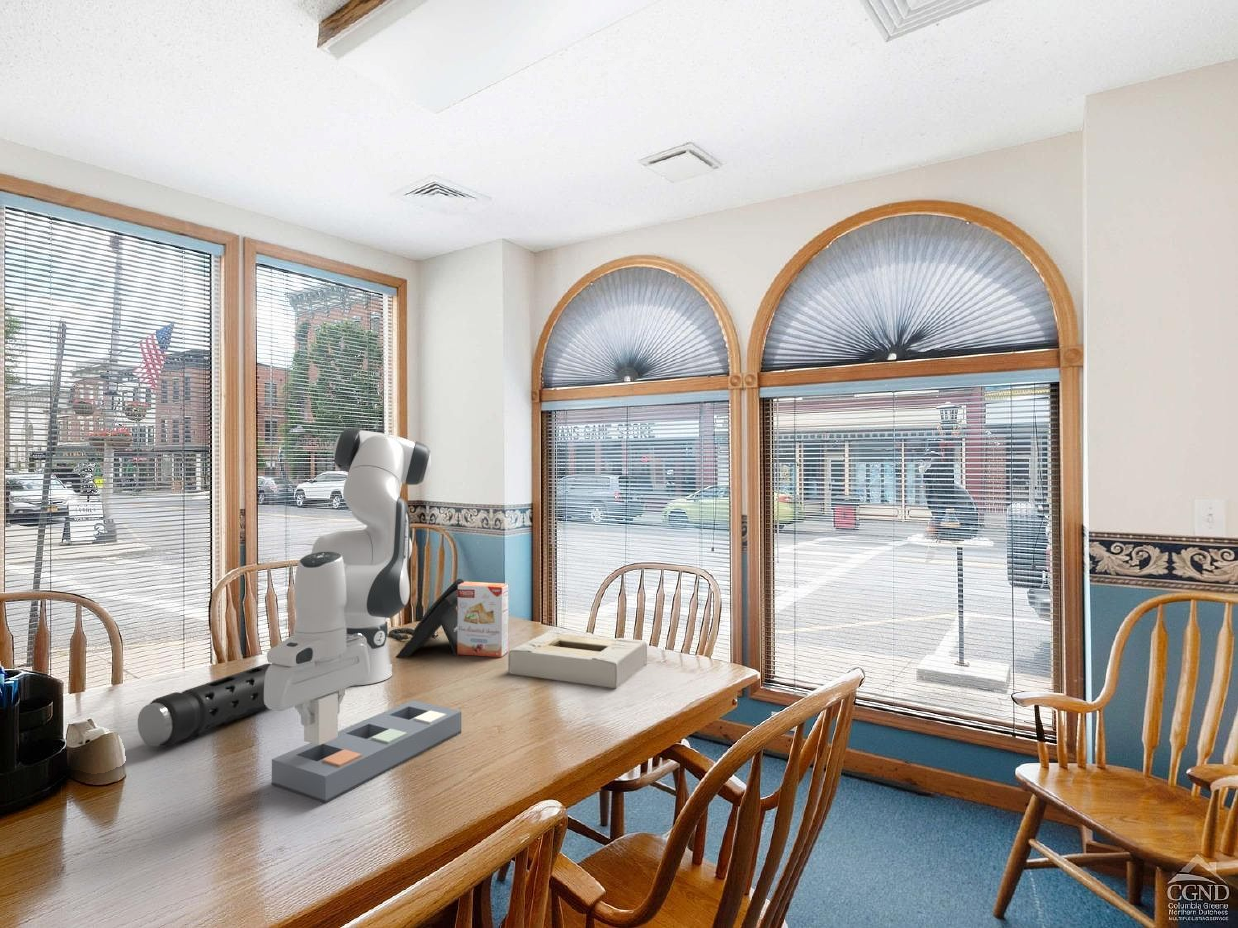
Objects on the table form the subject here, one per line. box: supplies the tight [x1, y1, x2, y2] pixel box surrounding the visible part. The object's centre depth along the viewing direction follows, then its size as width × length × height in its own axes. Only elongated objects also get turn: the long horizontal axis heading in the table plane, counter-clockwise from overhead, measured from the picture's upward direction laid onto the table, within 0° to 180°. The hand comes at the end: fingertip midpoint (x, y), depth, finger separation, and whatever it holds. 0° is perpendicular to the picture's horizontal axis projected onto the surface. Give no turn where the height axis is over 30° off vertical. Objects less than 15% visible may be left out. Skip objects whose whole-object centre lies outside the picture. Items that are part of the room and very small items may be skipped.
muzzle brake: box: [137, 663, 272, 748], centre depth 148 cm, size 10×28×10 cm, turn 159°
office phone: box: [388, 578, 465, 659], centre depth 215 cm, size 29×28×20 cm
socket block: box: [271, 699, 462, 804], centre depth 134 cm, size 14×34×5 cm, turn 152°
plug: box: [303, 693, 339, 745], centre depth 125 cm, size 4×4×8 cm
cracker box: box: [457, 581, 509, 658], centre depth 204 cm, size 14×6×21 cm, turn 79°
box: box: [507, 629, 648, 689], centre depth 191 cm, size 23×8×32 cm
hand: (320, 719), depth 125 cm, fingers closed on plug, 4 cm apart
